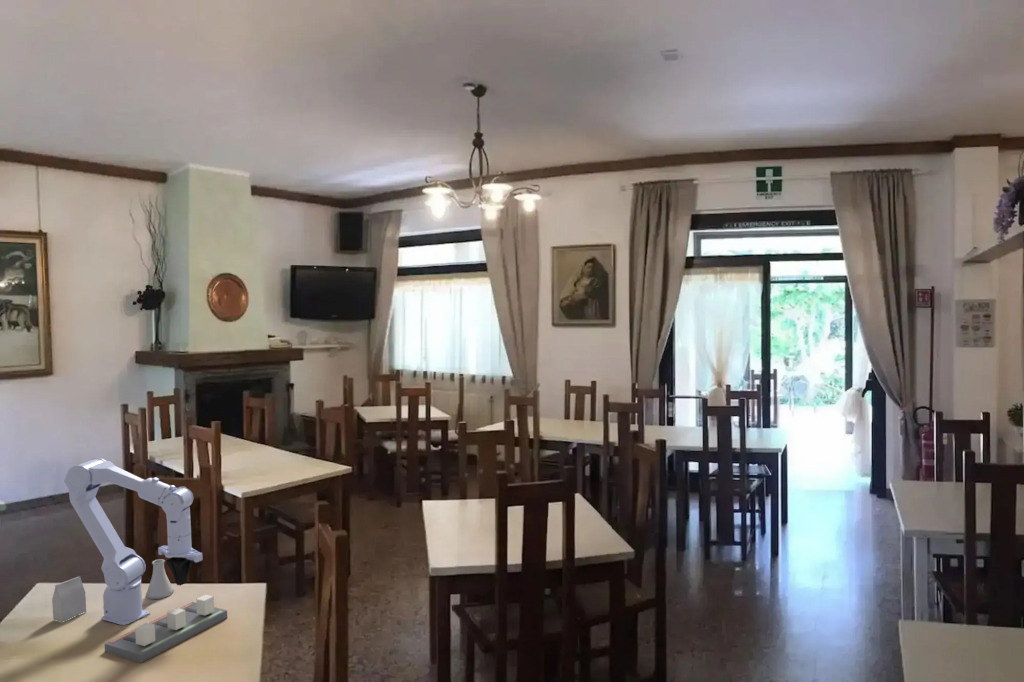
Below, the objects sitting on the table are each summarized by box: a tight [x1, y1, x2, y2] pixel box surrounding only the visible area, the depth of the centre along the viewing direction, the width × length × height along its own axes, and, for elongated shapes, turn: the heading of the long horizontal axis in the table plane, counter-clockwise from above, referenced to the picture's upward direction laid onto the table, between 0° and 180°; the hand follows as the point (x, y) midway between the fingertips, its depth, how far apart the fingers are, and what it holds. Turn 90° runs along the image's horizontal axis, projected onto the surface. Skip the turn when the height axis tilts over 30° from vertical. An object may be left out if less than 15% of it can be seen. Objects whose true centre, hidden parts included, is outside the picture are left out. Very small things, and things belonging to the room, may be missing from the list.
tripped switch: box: [134, 622, 155, 646], centre depth 175 cm, size 3×3×4 cm
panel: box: [104, 601, 228, 663], centre depth 185 cm, size 13×26×2 cm, turn 155°
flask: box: [145, 558, 175, 600], centre depth 209 cm, size 7×7×10 cm
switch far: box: [195, 594, 215, 615], centre depth 192 cm, size 3×3×4 cm
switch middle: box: [166, 607, 186, 630], centre depth 184 cm, size 3×3×4 cm
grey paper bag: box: [51, 575, 87, 622], centre depth 196 cm, size 4×7×10 cm, turn 156°
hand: (181, 583), depth 194 cm, fingers closed
